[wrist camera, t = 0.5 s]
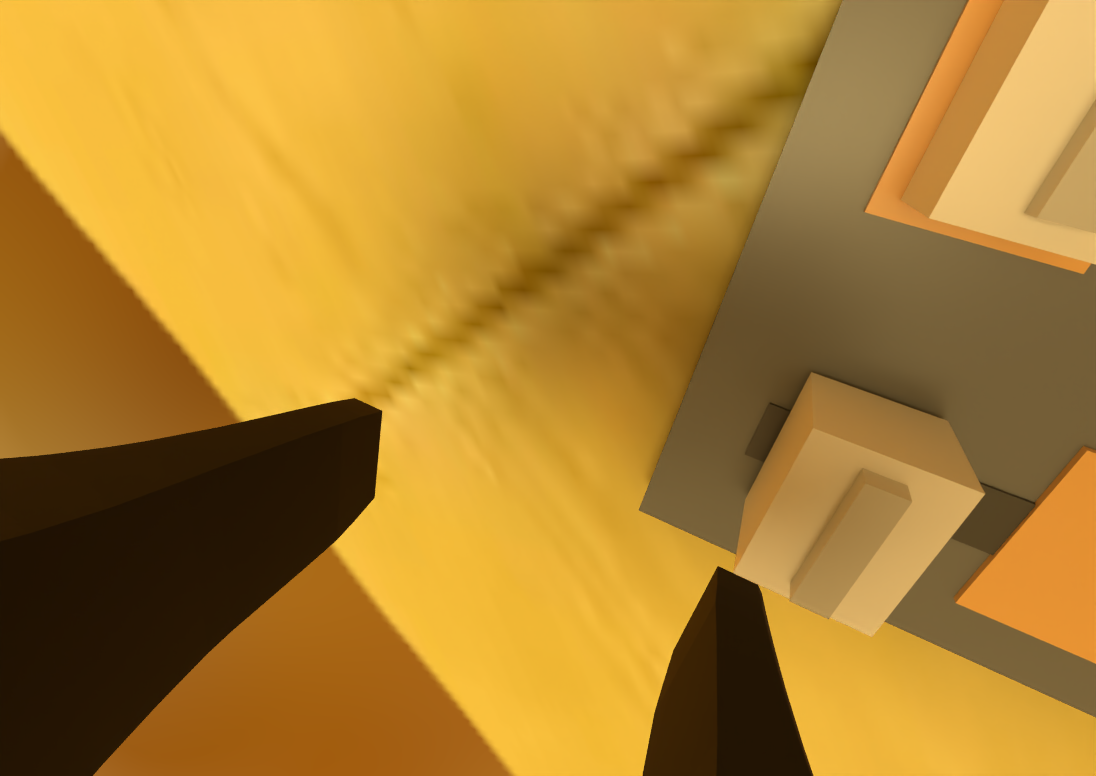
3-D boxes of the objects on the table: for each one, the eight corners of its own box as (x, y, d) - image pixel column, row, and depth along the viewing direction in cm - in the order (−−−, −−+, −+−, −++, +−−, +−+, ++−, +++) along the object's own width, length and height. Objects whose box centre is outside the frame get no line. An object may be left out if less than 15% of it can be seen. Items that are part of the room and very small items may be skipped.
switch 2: (1245, -10, 8) (1485, -89, 5) (1068, 245, 10) (1175, 289, 7) (1027, -45, 9) (1133, -132, 6) (900, 199, 11) (935, 223, 8)
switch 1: (948, 420, 12) (994, 511, 9) (860, 548, 14) (875, 658, 11) (811, 371, 13) (813, 441, 10) (745, 499, 15) (730, 589, 12)
